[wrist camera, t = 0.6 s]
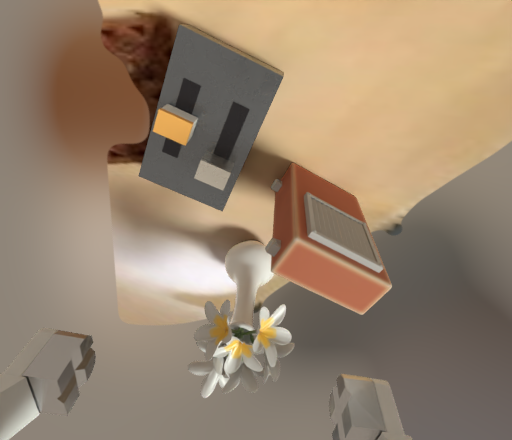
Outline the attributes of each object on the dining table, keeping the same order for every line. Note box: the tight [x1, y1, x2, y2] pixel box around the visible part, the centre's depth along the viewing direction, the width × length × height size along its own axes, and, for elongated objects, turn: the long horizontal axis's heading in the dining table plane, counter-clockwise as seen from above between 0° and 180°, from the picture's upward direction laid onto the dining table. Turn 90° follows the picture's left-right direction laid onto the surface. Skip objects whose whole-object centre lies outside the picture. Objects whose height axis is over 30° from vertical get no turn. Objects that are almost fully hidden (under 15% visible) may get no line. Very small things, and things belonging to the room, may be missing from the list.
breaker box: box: [139, 24, 284, 211], centre depth 46 cm, size 22×14×8 cm, turn 156°
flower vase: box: [188, 240, 294, 398], centre depth 51 cm, size 13×18×25 cm
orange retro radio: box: [265, 163, 392, 315], centre depth 44 cm, size 21×7×15 cm
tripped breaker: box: [153, 104, 198, 145], centre depth 43 cm, size 3×4×4 cm
